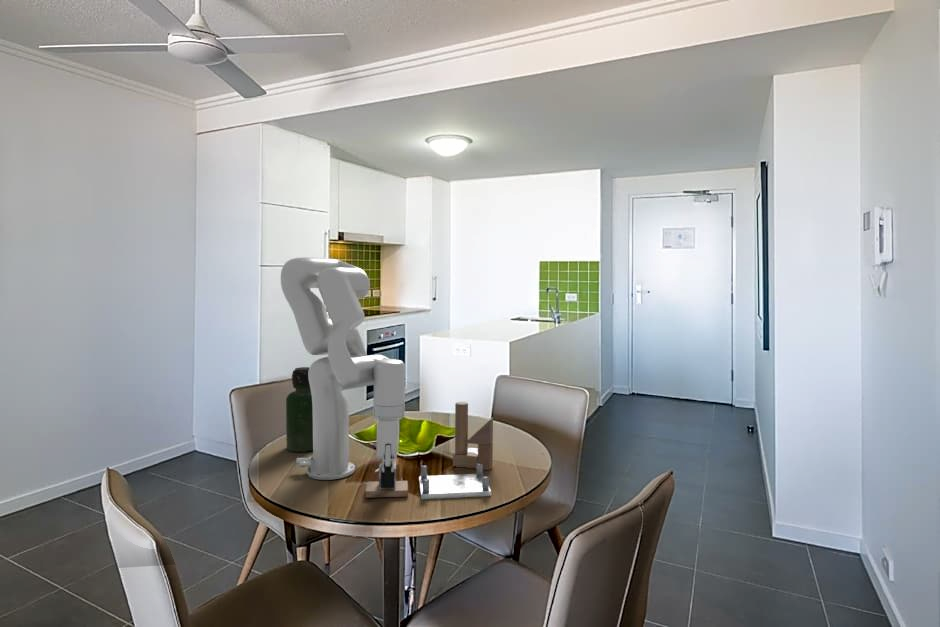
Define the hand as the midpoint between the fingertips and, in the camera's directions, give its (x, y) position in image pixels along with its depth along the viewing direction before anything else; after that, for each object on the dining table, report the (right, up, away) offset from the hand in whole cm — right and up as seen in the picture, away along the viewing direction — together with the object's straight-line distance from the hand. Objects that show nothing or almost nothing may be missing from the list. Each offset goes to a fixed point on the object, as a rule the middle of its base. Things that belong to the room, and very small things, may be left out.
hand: (387, 482), depth 130 cm
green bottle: (-32, -1, +36) cm, 48 cm away
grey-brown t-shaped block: (0, -2, 0) cm, 2 cm away
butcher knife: (+20, -2, +28) cm, 34 cm away
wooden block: (+21, -2, +20) cm, 29 cm away
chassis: (+16, -2, +4) cm, 17 cm away
